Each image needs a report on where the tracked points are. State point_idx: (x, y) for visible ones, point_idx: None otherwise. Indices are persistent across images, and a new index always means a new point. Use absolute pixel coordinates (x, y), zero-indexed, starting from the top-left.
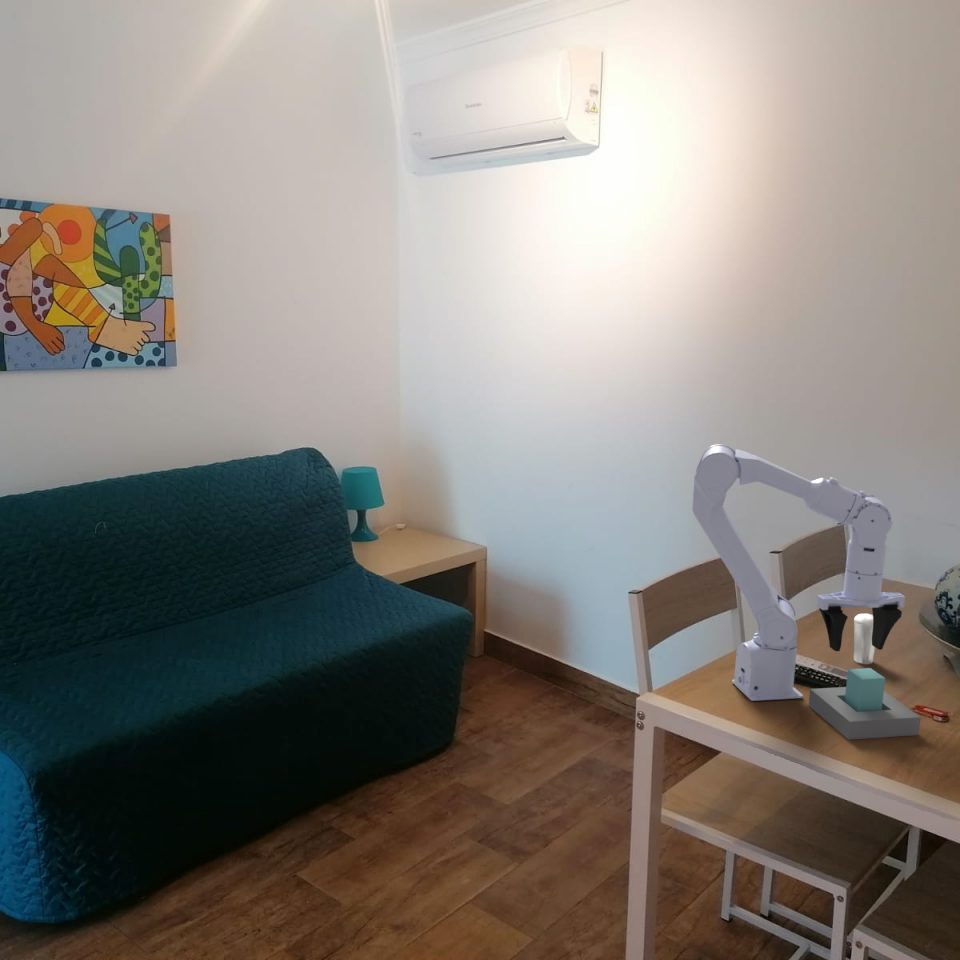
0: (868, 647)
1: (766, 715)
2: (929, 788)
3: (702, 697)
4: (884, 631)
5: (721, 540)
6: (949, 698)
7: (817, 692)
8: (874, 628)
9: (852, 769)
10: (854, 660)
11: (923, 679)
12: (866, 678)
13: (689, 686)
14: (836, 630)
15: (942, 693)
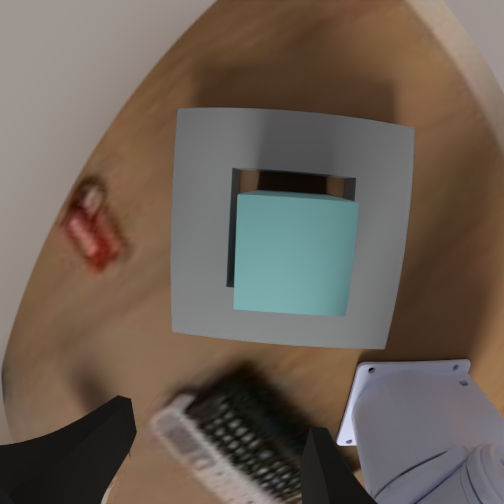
0: None
1: (484, 296)
2: None
3: None
4: (81, 440)
5: None
6: (31, 281)
7: (381, 326)
8: (106, 478)
9: (447, 34)
10: (129, 457)
11: (43, 362)
12: (332, 207)
13: None
14: (369, 496)
15: (33, 304)
